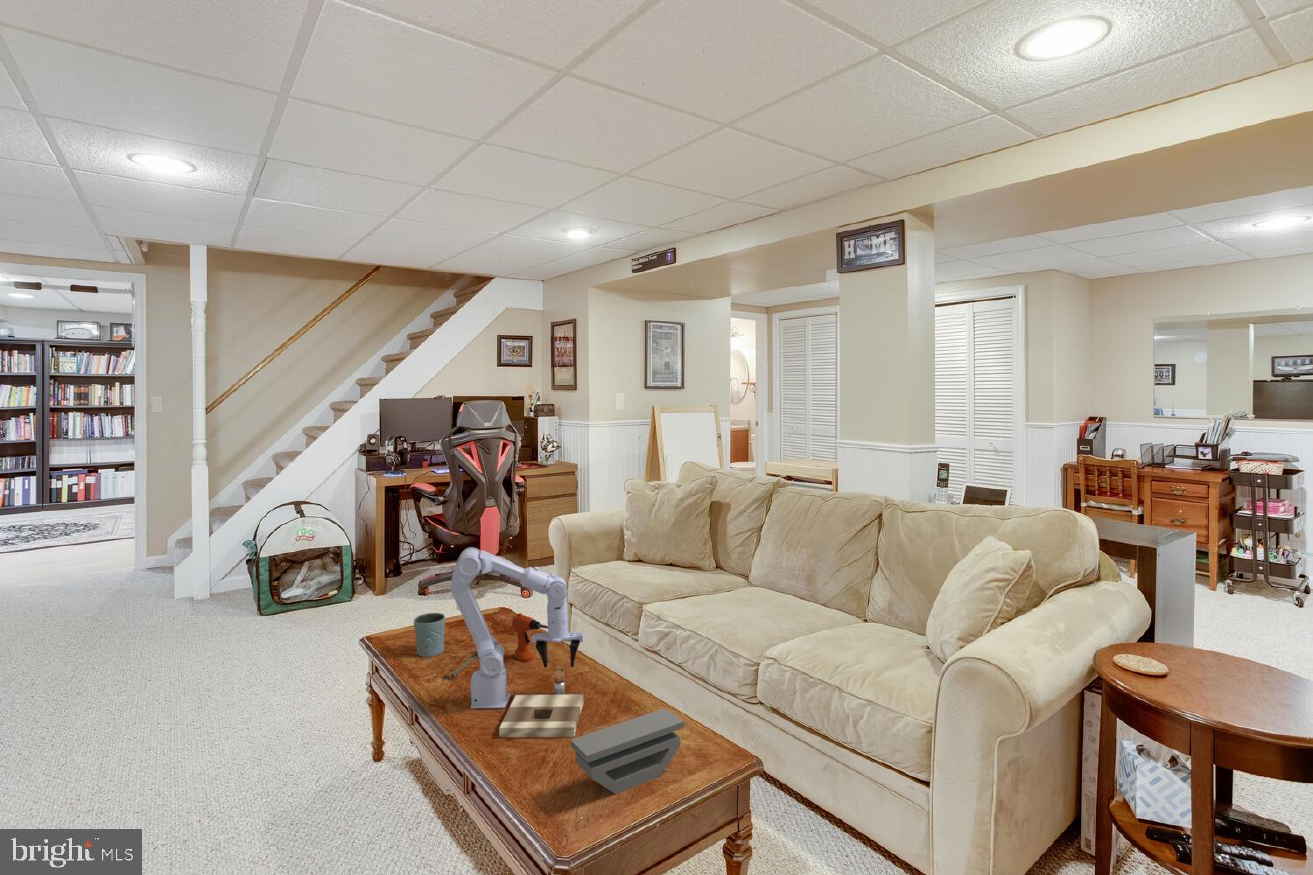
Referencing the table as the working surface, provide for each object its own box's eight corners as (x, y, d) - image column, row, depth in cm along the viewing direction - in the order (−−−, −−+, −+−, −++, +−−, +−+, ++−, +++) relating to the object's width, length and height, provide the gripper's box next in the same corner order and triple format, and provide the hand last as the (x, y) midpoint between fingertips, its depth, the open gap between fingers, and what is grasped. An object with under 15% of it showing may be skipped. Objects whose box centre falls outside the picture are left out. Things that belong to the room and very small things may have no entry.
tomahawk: (461, 684, 201) (461, 680, 200) (441, 680, 202) (442, 676, 202) (494, 655, 221) (494, 652, 221) (476, 652, 222) (476, 648, 222)
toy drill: (545, 668, 205) (540, 620, 205) (511, 659, 218) (506, 614, 218) (558, 663, 208) (552, 615, 208) (523, 654, 221) (519, 610, 222)
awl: (553, 697, 188) (552, 670, 188) (555, 692, 191) (554, 665, 191) (564, 697, 188) (563, 670, 188) (565, 692, 191) (565, 665, 191)
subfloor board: (499, 737, 167) (499, 727, 167) (516, 703, 185) (515, 694, 185) (574, 736, 167) (574, 727, 166) (583, 702, 185) (583, 694, 184)
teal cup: (434, 644, 230) (433, 610, 229) (452, 650, 224) (451, 616, 223) (408, 654, 221) (407, 619, 221) (427, 660, 216) (425, 625, 215)
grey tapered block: (588, 805, 139) (586, 755, 138) (571, 786, 146) (570, 739, 145) (684, 766, 153) (683, 721, 152) (665, 751, 159) (664, 707, 158)
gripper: (529, 625, 184) (531, 672, 185) (581, 624, 184) (582, 671, 185) (534, 616, 191) (536, 661, 192) (584, 615, 191) (585, 661, 192)
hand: (559, 665), depth 189 cm, fingers open, 7 cm apart
